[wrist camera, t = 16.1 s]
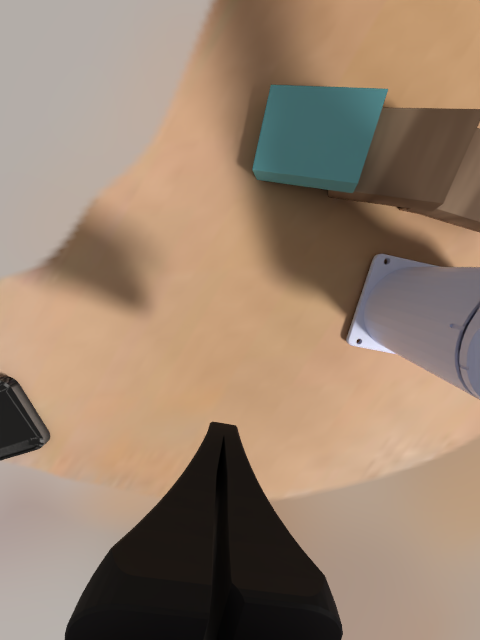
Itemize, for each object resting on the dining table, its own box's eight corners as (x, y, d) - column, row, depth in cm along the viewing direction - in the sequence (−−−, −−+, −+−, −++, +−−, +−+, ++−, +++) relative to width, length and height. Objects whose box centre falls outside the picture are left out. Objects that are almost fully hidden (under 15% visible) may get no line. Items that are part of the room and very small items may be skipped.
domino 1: (351, 123, 16) (468, 128, 14) (328, 196, 17) (432, 211, 15) (354, 107, 15) (484, 109, 13) (328, 188, 16) (443, 203, 14)
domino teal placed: (274, 103, 16) (379, 109, 14) (257, 179, 17) (352, 193, 15) (270, 84, 14) (388, 88, 13) (252, 169, 15) (357, 183, 14)
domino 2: (436, 135, 16) (522, 164, 16) (406, 210, 17) (487, 234, 17) (458, 121, 14) (552, 154, 15) (423, 204, 15) (512, 231, 16)
